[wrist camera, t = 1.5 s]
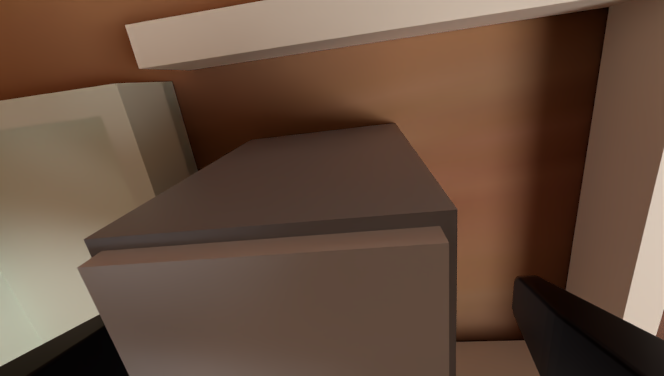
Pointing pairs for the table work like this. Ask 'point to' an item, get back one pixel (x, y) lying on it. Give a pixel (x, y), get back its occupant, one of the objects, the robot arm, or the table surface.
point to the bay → (604, 140)
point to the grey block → (286, 264)
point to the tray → (75, 194)
